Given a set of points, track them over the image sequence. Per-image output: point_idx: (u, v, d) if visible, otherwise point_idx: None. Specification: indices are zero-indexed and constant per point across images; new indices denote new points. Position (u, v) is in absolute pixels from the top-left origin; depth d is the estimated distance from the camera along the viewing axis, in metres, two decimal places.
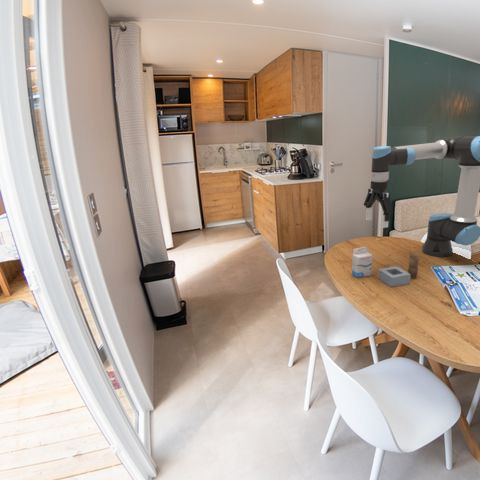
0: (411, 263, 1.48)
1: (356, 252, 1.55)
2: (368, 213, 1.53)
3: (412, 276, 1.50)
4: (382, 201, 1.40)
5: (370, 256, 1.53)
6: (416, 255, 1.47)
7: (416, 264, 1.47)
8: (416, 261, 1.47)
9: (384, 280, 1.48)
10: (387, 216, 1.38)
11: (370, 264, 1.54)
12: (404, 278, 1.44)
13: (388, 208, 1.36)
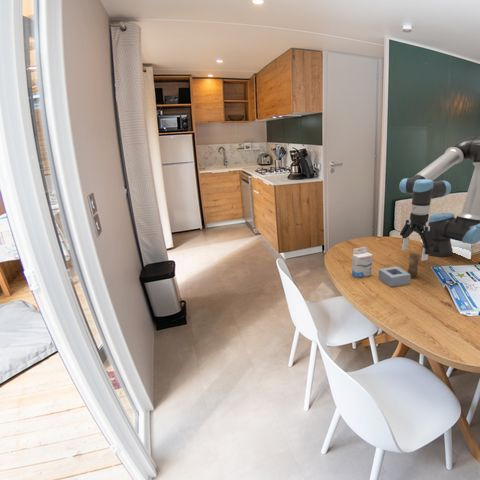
0: (411, 263, 1.48)
1: (356, 252, 1.55)
2: (404, 243, 1.52)
3: (412, 276, 1.50)
4: (422, 234, 1.39)
5: (370, 256, 1.53)
6: (416, 255, 1.47)
7: (416, 264, 1.47)
8: (416, 261, 1.47)
9: (384, 280, 1.48)
10: (428, 249, 1.38)
11: (370, 264, 1.54)
12: (404, 278, 1.44)
13: (429, 242, 1.35)
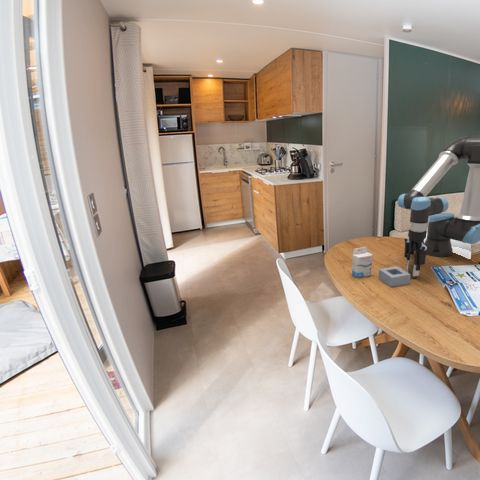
0: (411, 263, 1.48)
1: (356, 252, 1.55)
2: None
3: (412, 276, 1.50)
4: (418, 251, 1.44)
5: (370, 256, 1.53)
6: None
7: None
8: None
9: (384, 280, 1.48)
10: (418, 266, 1.46)
11: (370, 264, 1.54)
12: (404, 278, 1.44)
13: (421, 260, 1.42)
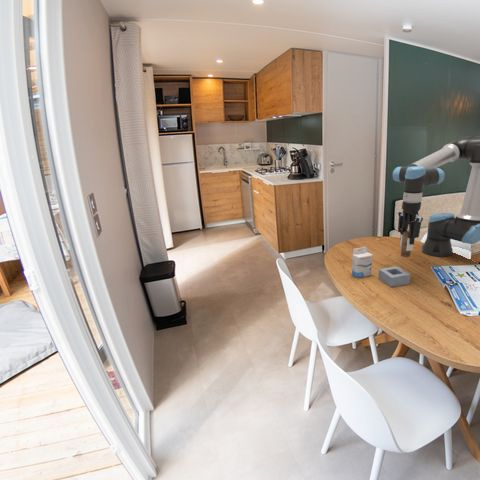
0: (404, 241, 1.43)
1: (356, 252, 1.55)
2: None
3: (405, 255, 1.44)
4: (412, 224, 1.38)
5: (370, 256, 1.53)
6: None
7: None
8: None
9: (384, 280, 1.48)
10: (412, 239, 1.39)
11: (370, 264, 1.54)
12: (404, 278, 1.44)
13: (415, 233, 1.36)
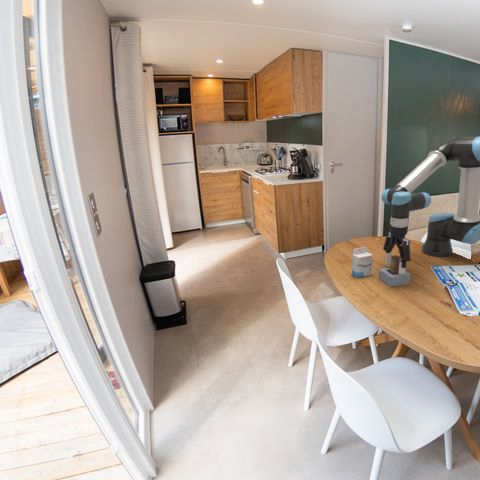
0: (392, 266, 1.46)
1: (356, 252, 1.55)
2: (388, 258, 1.50)
3: None
4: (401, 247, 1.39)
5: (370, 256, 1.53)
6: (397, 257, 1.44)
7: (397, 266, 1.45)
8: (397, 263, 1.44)
9: (384, 280, 1.48)
10: (404, 263, 1.39)
11: (370, 264, 1.54)
12: (404, 278, 1.44)
13: (406, 256, 1.36)
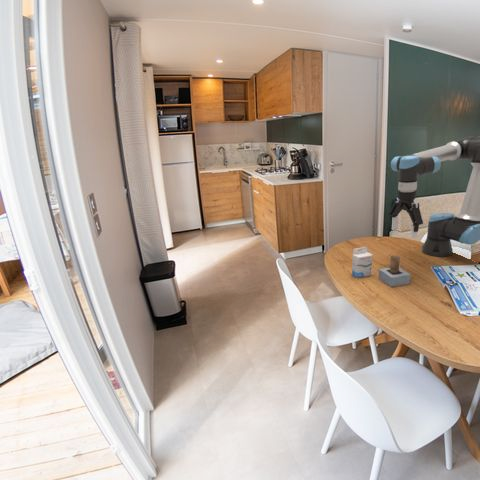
0: (392, 266, 1.46)
1: (356, 252, 1.55)
2: (394, 222, 1.50)
3: None
4: (411, 211, 1.38)
5: (370, 256, 1.53)
6: (397, 257, 1.44)
7: (397, 266, 1.45)
8: (397, 263, 1.44)
9: (384, 280, 1.48)
10: (416, 227, 1.36)
11: (370, 264, 1.54)
12: (404, 278, 1.44)
13: (418, 219, 1.34)
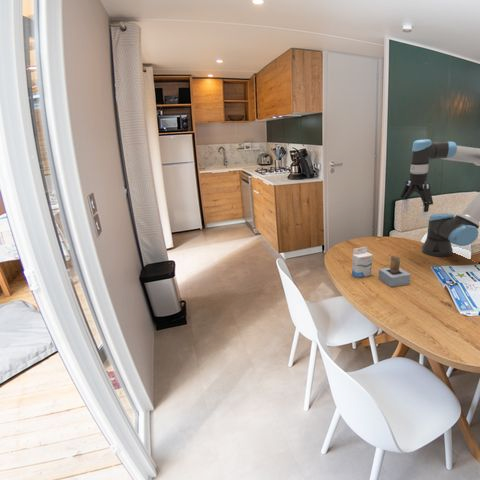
0: (392, 266, 1.45)
1: (356, 252, 1.55)
2: (405, 204, 1.59)
3: None
4: (421, 192, 1.46)
5: (370, 256, 1.53)
6: (397, 257, 1.44)
7: (397, 266, 1.44)
8: (397, 263, 1.44)
9: (384, 280, 1.48)
10: (427, 207, 1.44)
11: (370, 264, 1.54)
12: (404, 278, 1.44)
13: (428, 199, 1.42)
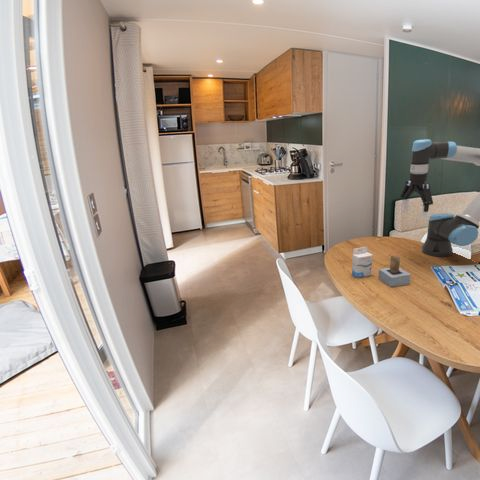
0: (392, 266, 1.45)
1: (356, 252, 1.55)
2: (405, 204, 1.59)
3: None
4: (421, 192, 1.46)
5: (370, 256, 1.53)
6: (397, 257, 1.44)
7: (397, 266, 1.44)
8: (397, 263, 1.44)
9: (384, 280, 1.48)
10: (427, 207, 1.44)
11: (370, 264, 1.54)
12: (404, 278, 1.44)
13: (428, 199, 1.42)
